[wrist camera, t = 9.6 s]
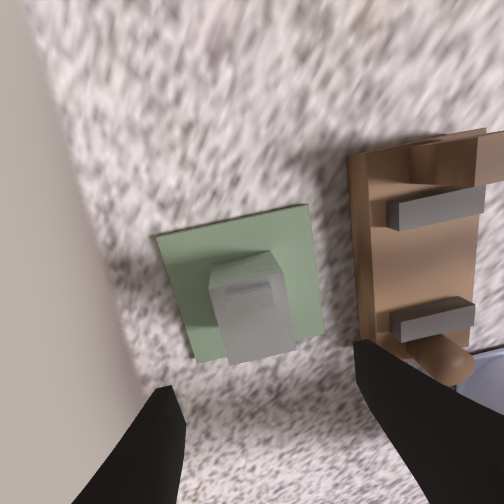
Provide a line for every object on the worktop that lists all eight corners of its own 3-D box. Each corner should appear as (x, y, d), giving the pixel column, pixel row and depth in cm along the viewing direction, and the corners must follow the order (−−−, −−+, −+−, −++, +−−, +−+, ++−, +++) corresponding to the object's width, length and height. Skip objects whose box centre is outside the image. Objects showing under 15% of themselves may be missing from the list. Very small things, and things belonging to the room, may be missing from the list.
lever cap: (282, 313, 19) (299, 357, 14) (228, 326, 18) (229, 373, 14) (270, 250, 17) (285, 276, 13) (212, 263, 17) (207, 294, 13)
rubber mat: (322, 329, 20) (325, 333, 19) (197, 358, 20) (197, 363, 19) (305, 203, 17) (308, 205, 16) (158, 235, 17) (156, 237, 16)
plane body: (441, 327, 21) (530, 390, 15) (360, 346, 21) (417, 418, 15) (448, 134, 17) (581, 110, 10) (345, 155, 16) (419, 144, 10)
